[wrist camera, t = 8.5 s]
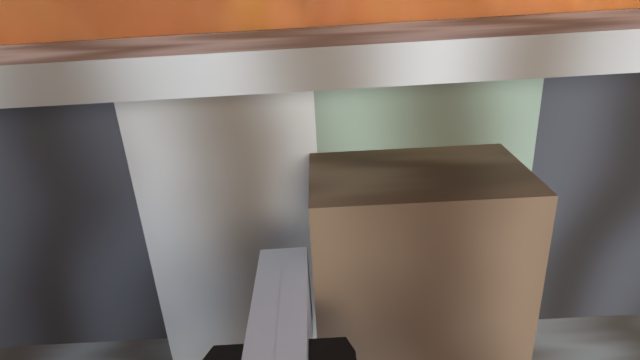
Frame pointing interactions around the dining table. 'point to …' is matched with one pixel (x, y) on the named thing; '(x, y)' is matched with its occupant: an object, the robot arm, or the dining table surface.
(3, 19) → the dining table surface
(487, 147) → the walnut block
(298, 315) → the robot arm
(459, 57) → the box
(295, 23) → the dining table surface
